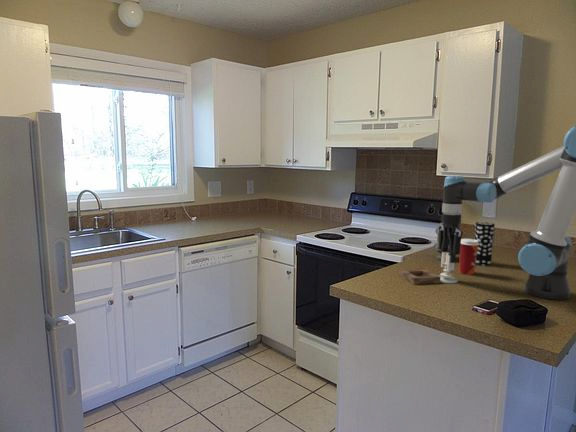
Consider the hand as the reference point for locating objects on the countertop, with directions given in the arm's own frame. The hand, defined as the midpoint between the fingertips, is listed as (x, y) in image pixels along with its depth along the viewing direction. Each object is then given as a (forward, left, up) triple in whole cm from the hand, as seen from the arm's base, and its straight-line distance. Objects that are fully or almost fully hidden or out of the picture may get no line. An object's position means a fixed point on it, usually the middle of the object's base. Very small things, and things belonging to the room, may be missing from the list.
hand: (447, 268), depth 175 cm
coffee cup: (+8, -16, -5) cm, 19 cm away
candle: (0, 0, -3) cm, 3 cm away
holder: (+3, +11, -5) cm, 12 cm away
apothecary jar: (+33, -21, -5) cm, 40 cm away
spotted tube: (+21, -33, -5) cm, 40 cm away
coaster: (0, 0, -5) cm, 5 cm away
